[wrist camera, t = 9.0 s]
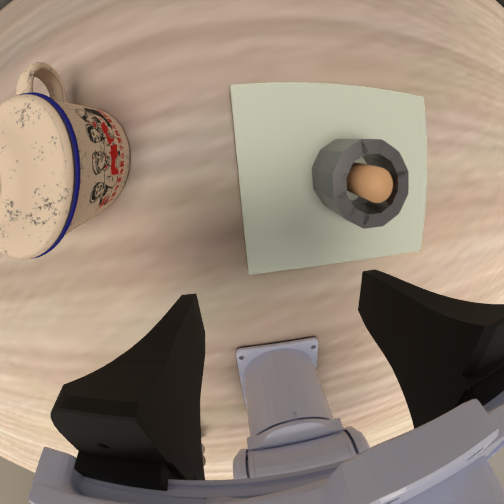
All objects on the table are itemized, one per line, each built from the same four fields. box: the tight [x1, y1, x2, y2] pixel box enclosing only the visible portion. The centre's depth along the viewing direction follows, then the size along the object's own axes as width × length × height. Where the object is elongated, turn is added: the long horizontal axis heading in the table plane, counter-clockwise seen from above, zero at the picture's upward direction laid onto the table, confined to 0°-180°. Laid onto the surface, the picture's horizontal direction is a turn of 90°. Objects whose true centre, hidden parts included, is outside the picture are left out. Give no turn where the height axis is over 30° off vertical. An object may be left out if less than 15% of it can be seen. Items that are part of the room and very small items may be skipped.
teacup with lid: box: [0, 62, 130, 259], centre depth 12 cm, size 12×9×12 cm
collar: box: [312, 139, 409, 229], centre depth 17 cm, size 6×6×4 cm
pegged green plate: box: [230, 82, 427, 275], centre depth 17 cm, size 14×16×6 cm
